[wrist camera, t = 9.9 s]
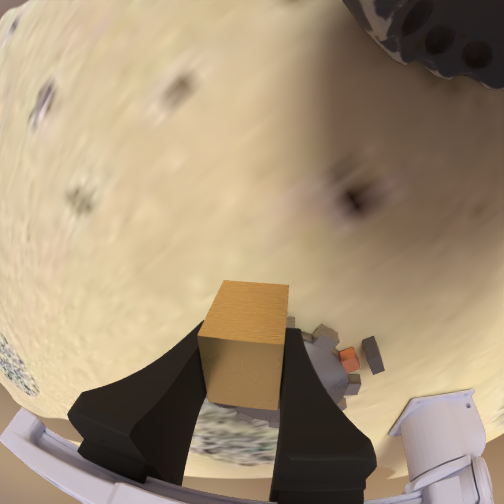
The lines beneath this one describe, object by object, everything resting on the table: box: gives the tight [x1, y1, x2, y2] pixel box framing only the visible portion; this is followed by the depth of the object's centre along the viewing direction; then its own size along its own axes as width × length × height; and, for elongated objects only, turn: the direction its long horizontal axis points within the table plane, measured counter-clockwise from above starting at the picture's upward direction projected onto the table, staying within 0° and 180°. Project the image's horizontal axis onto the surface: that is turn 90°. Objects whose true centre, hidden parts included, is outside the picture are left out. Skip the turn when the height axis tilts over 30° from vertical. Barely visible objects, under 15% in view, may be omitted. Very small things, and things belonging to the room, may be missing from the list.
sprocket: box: [214, 317, 361, 428], centre depth 22 cm, size 14×14×5 cm
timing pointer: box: [363, 336, 385, 375], centre depth 20 cm, size 1×2×2 cm, turn 30°
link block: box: [197, 280, 289, 410], centre depth 12 cm, size 4×3×4 cm
